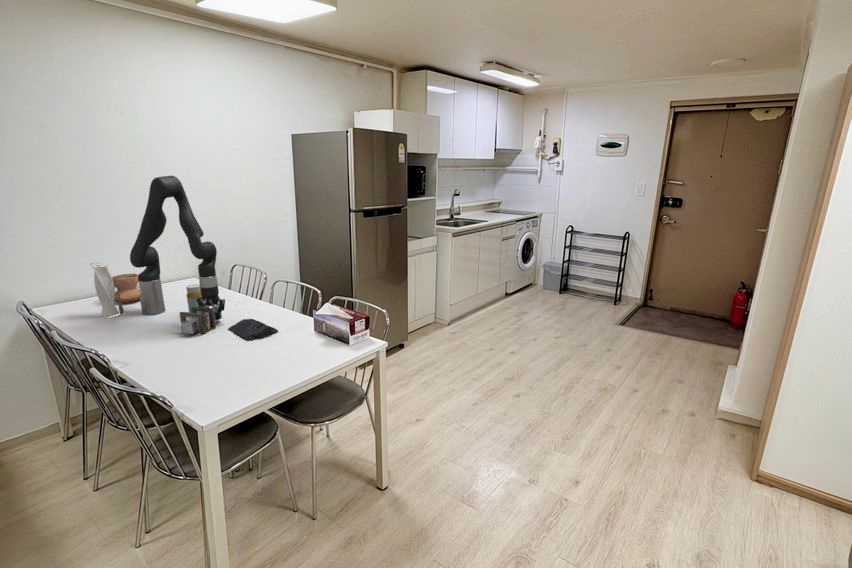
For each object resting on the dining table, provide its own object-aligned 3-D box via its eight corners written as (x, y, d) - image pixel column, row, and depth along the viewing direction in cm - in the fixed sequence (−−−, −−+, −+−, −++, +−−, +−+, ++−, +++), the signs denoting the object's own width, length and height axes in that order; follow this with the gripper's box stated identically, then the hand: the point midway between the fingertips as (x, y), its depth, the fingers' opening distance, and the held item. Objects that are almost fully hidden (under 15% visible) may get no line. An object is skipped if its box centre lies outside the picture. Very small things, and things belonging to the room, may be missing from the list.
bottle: (208, 312, 222) (204, 284, 218) (199, 317, 216) (195, 288, 211) (195, 311, 223) (191, 283, 219) (186, 316, 216) (182, 287, 212)
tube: (193, 333, 192) (191, 323, 191) (182, 332, 193) (181, 322, 192) (222, 318, 211) (220, 308, 210) (212, 317, 212) (211, 307, 211)
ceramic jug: (142, 294, 249) (138, 270, 245) (151, 300, 239) (147, 275, 235) (105, 302, 236) (99, 276, 232) (112, 308, 226) (107, 282, 222)
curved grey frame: (182, 332, 197) (179, 312, 194) (195, 325, 205) (192, 306, 202) (204, 334, 195) (201, 314, 192) (216, 327, 203) (213, 308, 200)
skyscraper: (108, 319, 212) (97, 263, 204) (96, 317, 214) (85, 262, 206) (125, 314, 219) (115, 259, 212) (113, 312, 222) (102, 258, 214)
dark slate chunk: (256, 321, 212) (255, 312, 211) (280, 333, 198) (280, 323, 197) (225, 330, 201) (223, 320, 200) (248, 343, 187) (247, 333, 186)
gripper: (189, 286, 202) (194, 320, 206) (217, 288, 199) (221, 323, 204) (200, 281, 209) (205, 315, 214) (227, 283, 206) (231, 317, 211)
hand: (213, 318), depth 209 cm, fingers closed on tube, 5 cm apart
